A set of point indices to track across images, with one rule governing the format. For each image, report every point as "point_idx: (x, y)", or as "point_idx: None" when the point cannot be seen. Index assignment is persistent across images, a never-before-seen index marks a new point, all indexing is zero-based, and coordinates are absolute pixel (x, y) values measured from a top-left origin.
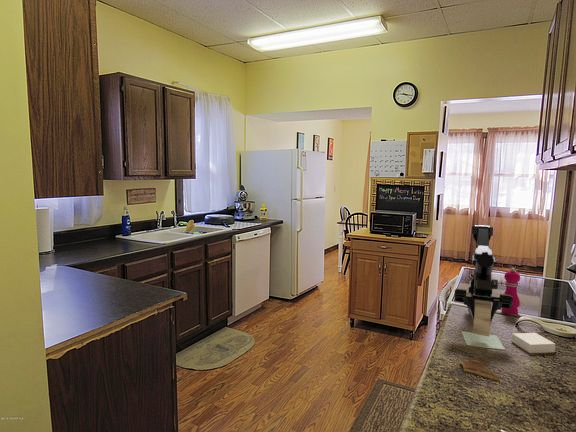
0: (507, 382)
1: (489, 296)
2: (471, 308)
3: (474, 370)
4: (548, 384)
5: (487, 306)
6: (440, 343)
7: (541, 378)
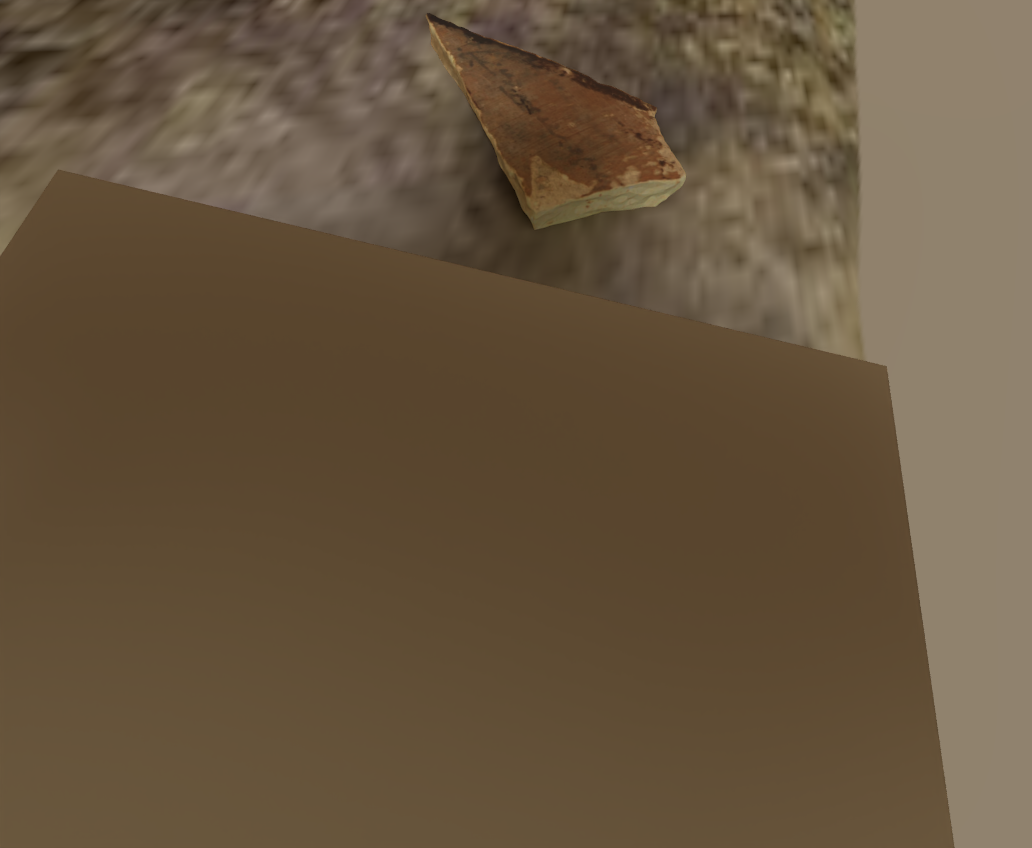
0: (384, 29)
1: None
2: None
3: (588, 78)
4: (75, 18)
5: (280, 262)
6: None
7: (73, 77)
